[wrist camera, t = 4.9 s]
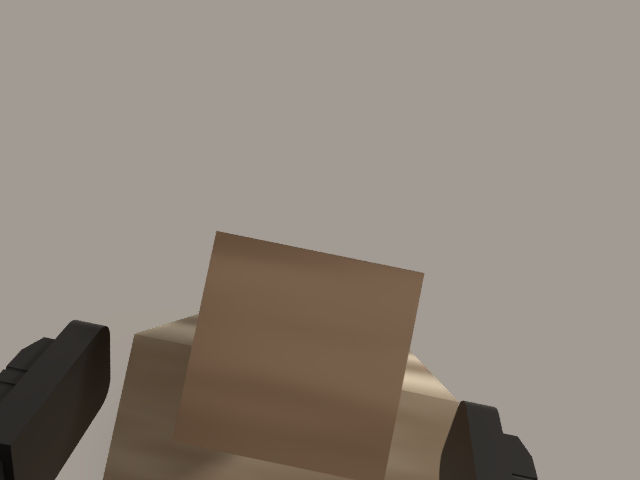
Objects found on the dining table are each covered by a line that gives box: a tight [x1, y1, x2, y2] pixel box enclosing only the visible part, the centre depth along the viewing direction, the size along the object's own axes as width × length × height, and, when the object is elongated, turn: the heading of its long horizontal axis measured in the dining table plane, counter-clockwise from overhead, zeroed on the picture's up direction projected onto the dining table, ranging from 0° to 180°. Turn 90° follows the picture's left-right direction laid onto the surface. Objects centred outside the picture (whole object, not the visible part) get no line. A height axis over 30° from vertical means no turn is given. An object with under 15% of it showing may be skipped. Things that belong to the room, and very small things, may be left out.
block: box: [172, 231, 424, 480], centre depth 23 cm, size 24×4×4 cm, turn 0°
